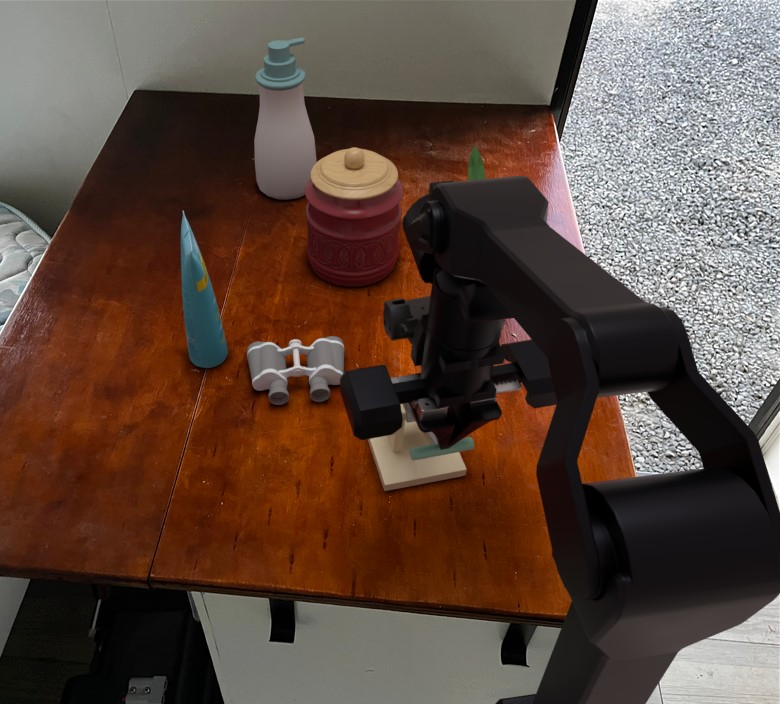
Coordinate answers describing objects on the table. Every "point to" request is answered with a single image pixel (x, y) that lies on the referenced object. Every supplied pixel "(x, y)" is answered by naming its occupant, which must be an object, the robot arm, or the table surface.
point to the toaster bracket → (399, 465)
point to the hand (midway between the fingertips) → (442, 445)
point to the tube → (200, 306)
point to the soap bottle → (283, 125)
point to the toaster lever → (434, 442)
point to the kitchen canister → (353, 217)
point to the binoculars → (296, 367)
